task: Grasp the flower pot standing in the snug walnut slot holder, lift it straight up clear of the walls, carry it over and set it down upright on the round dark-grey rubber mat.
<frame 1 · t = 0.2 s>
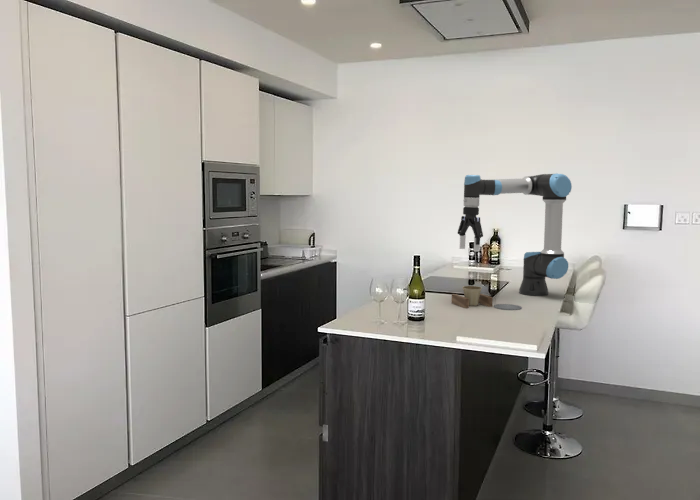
hand: (469, 250, 291), 27 cm above the countertop, fingers open, 13 cm apart
flower pot: (471, 305, 290), on the countertop
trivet: (507, 307, 284), on the countertop
slot holder: (471, 304, 290), on the countertop
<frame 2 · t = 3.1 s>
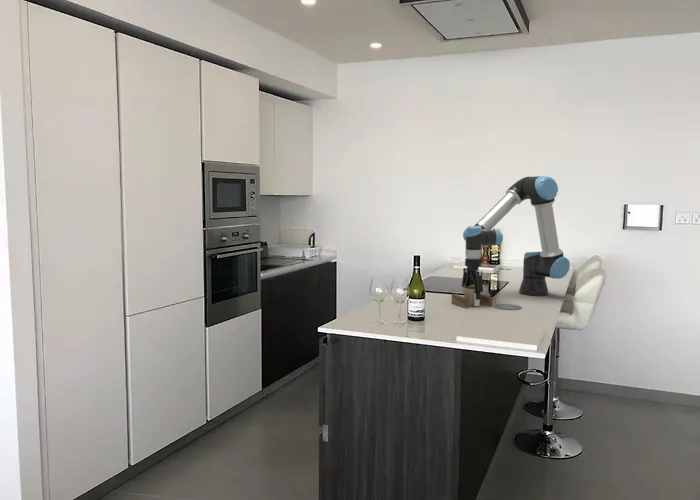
hand: (471, 304, 290), 0 cm above the countertop, fingers closed on flower pot, 8 cm apart
flower pot: (471, 305, 290), on the countertop, touching gripper
when the fingers open (1 cm above the countertop, at t = 10.9 s): flower pot moves 4 cm, resting on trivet.
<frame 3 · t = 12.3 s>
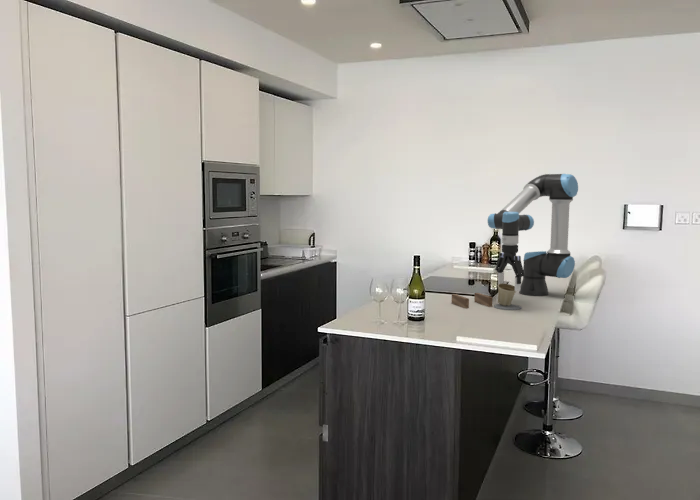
hand: (509, 288, 284), 9 cm above the countertop, fingers open, 13 cm apart
flower pot: (504, 303, 288), point 1 cm above the countertop, touching gripper, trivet
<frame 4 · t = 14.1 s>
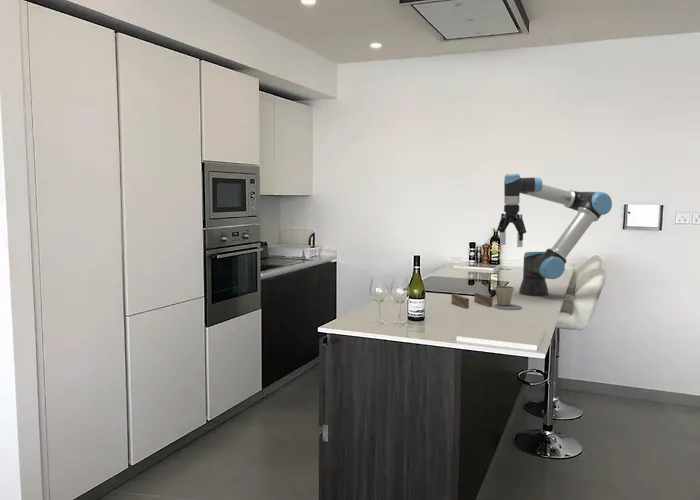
hand: (511, 245, 304), 28 cm above the countertop, fingers open, 13 cm apart
flower pot: (503, 305, 288), resting on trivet
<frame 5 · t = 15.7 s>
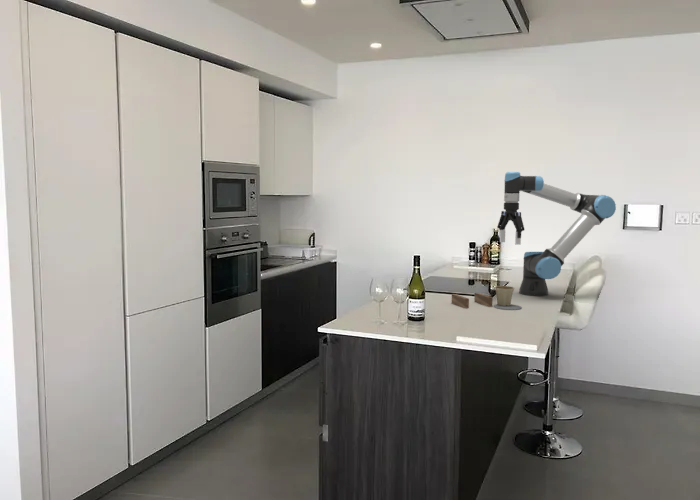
hand: (509, 243, 306), 29 cm above the countertop, fingers open, 13 cm apart
nothing on the countertop moved.
at the end: flower pot inside the target area on the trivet (4.0 cm from its centre), point 0.2 cm above the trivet's base; flower pot tilted 0°; the gripper is holding nothing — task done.
